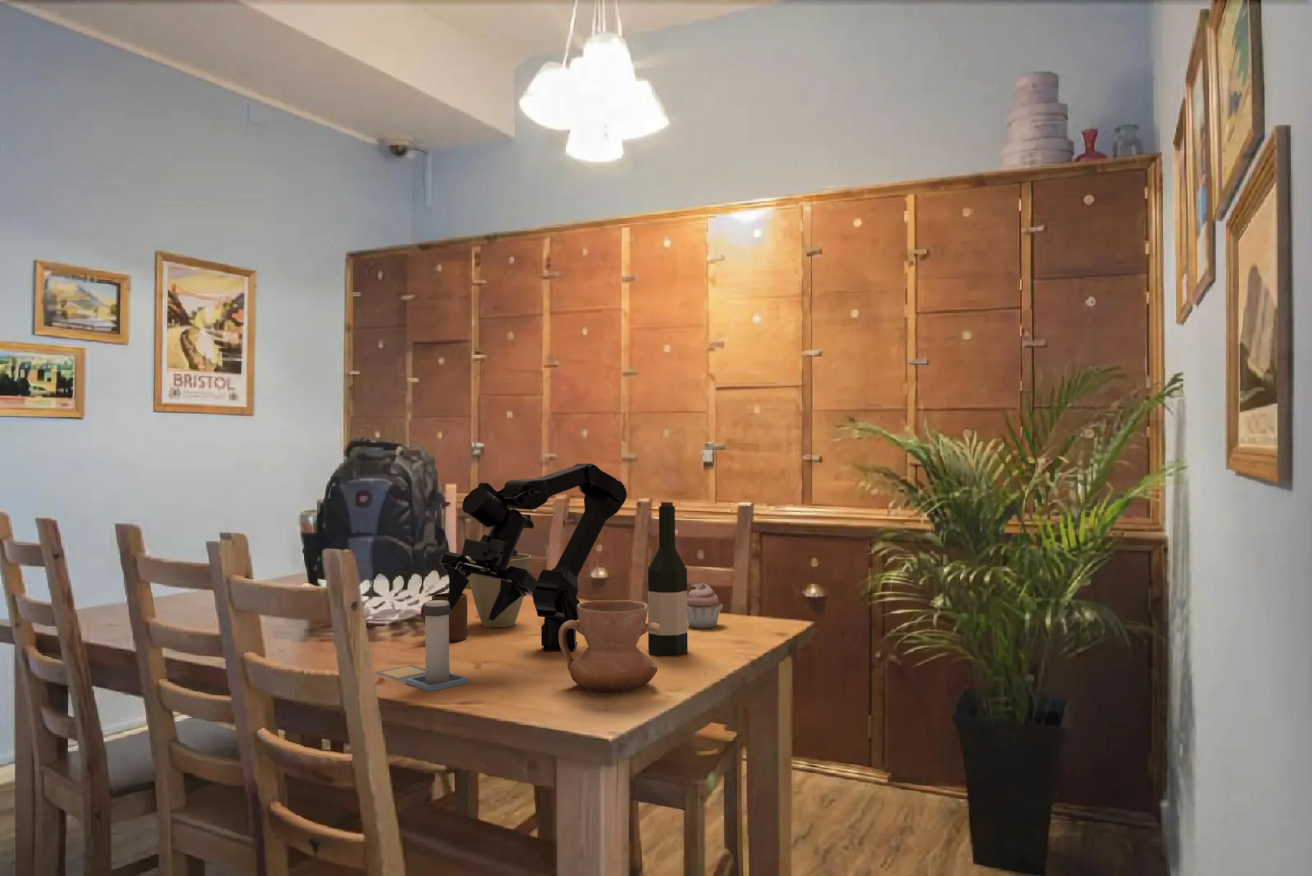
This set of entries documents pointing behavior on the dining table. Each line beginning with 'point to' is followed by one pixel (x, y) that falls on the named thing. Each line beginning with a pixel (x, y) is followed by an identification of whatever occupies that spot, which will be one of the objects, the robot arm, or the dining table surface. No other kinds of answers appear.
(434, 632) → the white grey banded cylinder
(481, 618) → the plant pot
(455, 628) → the mug
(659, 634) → the wine bottle
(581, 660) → the ceramic jug
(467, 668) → the dining table surface
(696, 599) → the cupcake
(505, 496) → the robot arm
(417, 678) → the grey rectangular board
